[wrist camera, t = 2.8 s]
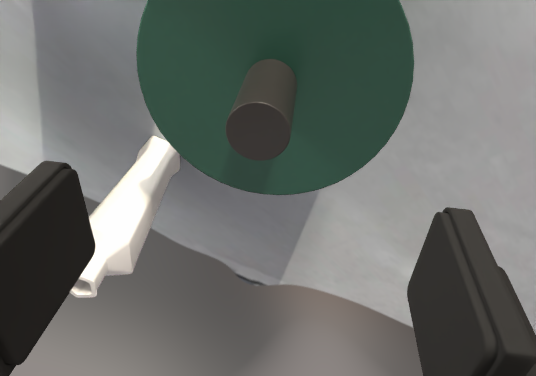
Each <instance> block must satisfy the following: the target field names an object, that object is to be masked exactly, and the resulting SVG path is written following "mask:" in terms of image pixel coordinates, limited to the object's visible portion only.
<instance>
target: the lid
mask: <svg viewBox="0 0 536 376" xmlns="http://www.w3.org/2000/svg"><path fill="white" fill-rule="evenodd" d="M137 70H138V76H139V81H140V86H141V90H142V93H143V96H144V99H145V103H146V105H147V107H148V109H149V112H150V114H151V116H152V118H153V120H154V122H155V123H156V125H157V127H158V128H159V130H160V132H161V133H162V134H163V136H164V137H165V138H166V140H167V141H168V142H169V143H170V145H171V146H172V147H173V148H174V149H175V150H176V151H177V152H178V153H179V154H180V155H181V156H182V157H183V158H184V159H185V160H187V161H188V162H189V163H190V164H191V165H193V166H194V167H195V168H197V169H198V170H200V171H201V172H203V173H204V174H206V175H208V176H210V177H211V178H213V179H215V180H217V181H219V182H221V183H224V184H226V185H229V186H231V187H234V188H238V189H241V190H245V191H248V192H254V193H260V194H270V195H290V194H299V193H305V192H310V191H314V190H318V189H321V188H324V187H327V186H329V185H332V184H335V183H337V182H339V181H341V180H343V179H345V178H346V177H348V176H350V175H352V174H353V173H355V172H356V171H358V170H359V169H360V168H362V167H363V166H364V165H366V164H367V163H368V162H369V161H370V160H371V159H372V158H374V157H375V156H376V155H377V153H378V152H379V151H380V150H381V149H382V148H383V147H384V146H385V144H386V143H387V142H388V140H389V139H390V137H391V136H392V134H393V133H394V131H395V130H396V128H397V126H398V124H399V122H400V120H401V118H402V116H403V114H404V111H405V109H406V106H407V103H408V100H409V96H410V92H411V87H412V82H413V71H414V54H413V42H412V38H411V33H410V28H409V24H408V21H407V18H406V16H405V13H404V10H403V8H402V5H401V3H400V1H399V0H148V1H147V4H146V7H145V9H144V12H143V15H142V18H141V22H140V27H139V32H138V39H137Z"/></svg>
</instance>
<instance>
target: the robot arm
mask: <svg viewBox="0 0 536 376" xmlns="http://www.w3.org/2000/svg"><path fill="white" fill-rule="evenodd" d="M94 253H95V240H94V237H93V233H92V229H91V225H90V221H89V217H88V213H87V209H86V205H85V201H84V197H83V194H82V190H81V186H80V182H79V178H78V174H77V172H76V171H75V170H73V169H72V168H71V166H70V165H69V164H67V163H60V162H52V161H44V162H42V163H41V164H39V165H38V166H37V167H36V168H35V169H34V170H33V171H32V172H31V173H30V174H29V175H28V176H27V177H25V178H24V179H23V180H22V181H21V182H20V183H19V184H18V185H17V186H16V187H15V188H13V189H12V190H11V191H10V192H9V193H8V194H7V195H6V196H5V197H4V198H3V199H2V200H0V376H9V375H10V374H11V372H12V371H13V369H14V368H15V366H16V365H20V364H21V363H23V362H24V361H25V359H26V358H27V356H28V355H29V353H30V352H31V350H32V349H33V347H34V346H35V344H36V343H37V341H38V340H39V338H40V337H41V335H42V333H43V332H44V331H45V329H46V328H47V326H48V324H49V323H50V321H51V320H52V318H53V317H54V315H55V314H56V312H57V311H58V309H59V308H60V306H61V305H62V303H63V302H64V300H65V298H66V297H67V295H68V294H69V292H70V291H71V289H72V288H73V286H74V285H75V283H76V282H77V280H78V279H79V277H80V276H81V274H82V273H83V271H84V270H85V268H86V267H87V265H88V263H89V262H90V260H91V259H92V257H93V255H94ZM407 296H408V302H409V307H410V312H411V317H412V322H413V327H414V331H415V337H416V342H417V347H418V352H419V356H420V362H421V367H422V371H423V376H536V335H535V333H534V331H533V328H532V326H531V324H530V322H529V320H528V318H527V316H526V314H525V312H524V310H523V308H522V305H521V303H520V301H519V299H518V297H517V295H516V293H515V291H514V289H513V287H512V285H511V282H510V280H509V278H508V276H507V274H506V273H505V271H504V270H503V269H502V268H501V267H499V266H497V263H496V261H495V259H494V257H493V255H492V253H491V250H490V248H489V246H488V244H487V242H486V240H485V238H484V235H483V233H482V231H481V229H480V227H479V225H478V222H477V220H476V218H475V216H474V214H473V212H472V211H471V210H466V209H457V208H449V207H447V208H445V209H444V210H443V212H437V213H436V214H435V216H434V218H433V221H432V224H431V226H430V229H429V232H428V234H427V237H426V239H425V242H424V245H423V247H422V250H421V253H420V255H419V258H418V260H417V263H416V266H415V268H414V271H413V274H412V276H411V279H410V282H409V285H408V291H407Z"/></svg>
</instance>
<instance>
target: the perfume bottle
mask: <svg viewBox="0 0 536 376" xmlns="http://www.w3.org/2000/svg"><path fill="white" fill-rule="evenodd" d="M179 170H180V154H179V153H178V152H177V151H176V150H175V149H174V148H173V147H172V146H171V145H170V143H169V142H167V141H165V140H162V139H160V138H158V137H156V136H152V137H151V138H150V139H149V140H148V141H147V142H146V143H145V145H144V146H143V147H142V148H141V149H140V150H139V152H138V157H137V161H136V163H135V164H134V165H133V166H132V167H131V168H130V170H129V171H128V172H127V173H126V174H125V175H124V177H123V178H122V179H121V180H120V181H119V182H118V184H117V185H116V186H115V187H114V188H113V189H112V191H111V192H110V193H109V194H108V195H107V196H106V198H105V199H104V200H103V201H102V202H101V203H100V204H99V206H98V207H97V208H96V209H95V210H94V212H93V213H92V214H91V215H90V216H89V221H90V225H91V229H92V233H93V237H94V240H95V253H94V255H93V257H92V259H91V260H90V262H89V263H88V265H87V267H86V268H85V270H84V271H83V273H82V274H81V276H80V277H79V279H78V280H77V282H76V283H75V285H74V286H73V288H72V289H71V291H70V293H71V294H72V295H74V296H75V297H77V298H89V297H96V296H97V289H98V288H99V286H100V284H101V282H102V280H103V279H104V277H105V276H111V275H126V274H131V273H132V272H133V269H134V267H135V264H136V262H137V259H138V257H139V254H140V252H141V250H142V247H143V244H144V242H145V240H146V237H147V235H148V232H149V230H150V227H151V225H152V222H153V220H154V217H155V215H156V213H157V210H158V208H159V205H160V203H161V200H162V198H163V195H164V193H165V190H166V188H167V185H168V183H169V180H170V178H171V176H173V175H174V174H175V173H177V172H178V171H179Z"/></svg>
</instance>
